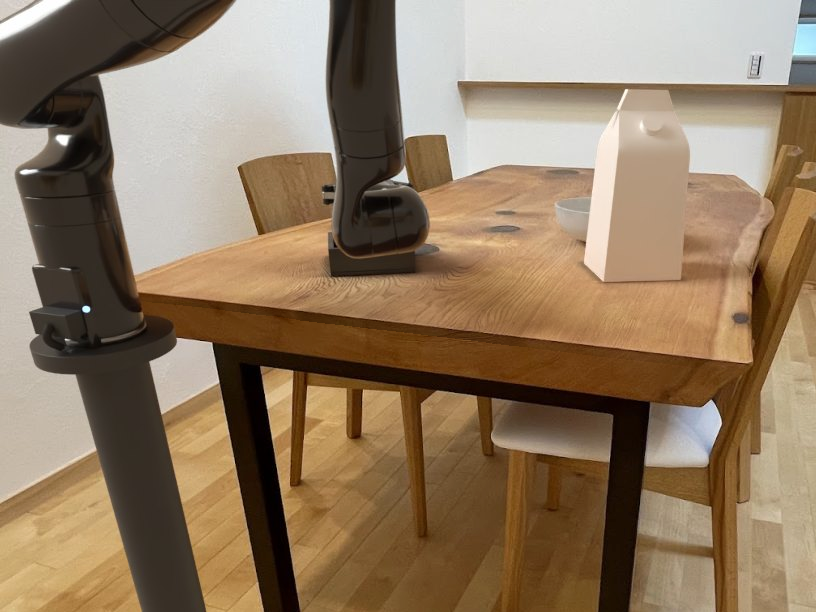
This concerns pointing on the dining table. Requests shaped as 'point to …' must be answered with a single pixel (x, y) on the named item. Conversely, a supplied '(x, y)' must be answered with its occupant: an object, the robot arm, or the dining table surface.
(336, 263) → the dark grey open box
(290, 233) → the dining table surface
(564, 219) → the serving bowl
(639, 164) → the milk
